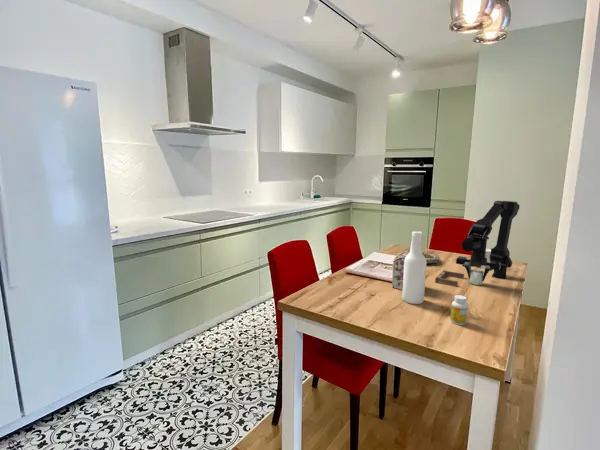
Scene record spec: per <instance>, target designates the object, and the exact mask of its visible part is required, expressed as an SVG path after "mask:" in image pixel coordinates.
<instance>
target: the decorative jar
mask: <svg viewBox="0 0 600 450" xmlns="http://www.w3.org/2000/svg"><path fill="white" fill-rule="evenodd" d="M409 252H410V249H406V250H405V251H404V252H399V253H397V254H396V255H395V257H394V259H393V260H392V261H393V262H392V277H391V288H392V287H394V288H393V289H396V288H397V289H396V290H400V291H403V275H404V260H405V257H406V256H407V255H408V254H409ZM426 263H427V260H426ZM426 277H427V276H426ZM426 277H425V280H427V279H426Z"/></svg>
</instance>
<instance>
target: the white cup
mask: <svg viewBox="0 0 600 450" xmlns="http://www.w3.org/2000/svg"><path fill="white" fill-rule="evenodd" d="M490 254H491V248H486V255H485V258H487V262H489V263H490ZM485 268H486V266H481V268H480V269H485Z"/></svg>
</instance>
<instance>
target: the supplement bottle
mask: <svg viewBox="0 0 600 450" xmlns="http://www.w3.org/2000/svg"><path fill="white" fill-rule="evenodd" d="M468 311H469V305H468V303H467V297H466V296H464V295H460V294H456V295H454V300H453V301H452V302H451V311H450V322H451V323H452V324H454V325H457V326H466V324H467V322H468Z"/></svg>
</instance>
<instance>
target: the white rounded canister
mask: <svg viewBox="0 0 600 450" xmlns="http://www.w3.org/2000/svg"><path fill="white" fill-rule="evenodd" d="M483 275H484V271H483V270H481V269H471V272H470V279H469V283H470V284H472V285H475V286H482V285H483V283H484V281H483Z"/></svg>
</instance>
